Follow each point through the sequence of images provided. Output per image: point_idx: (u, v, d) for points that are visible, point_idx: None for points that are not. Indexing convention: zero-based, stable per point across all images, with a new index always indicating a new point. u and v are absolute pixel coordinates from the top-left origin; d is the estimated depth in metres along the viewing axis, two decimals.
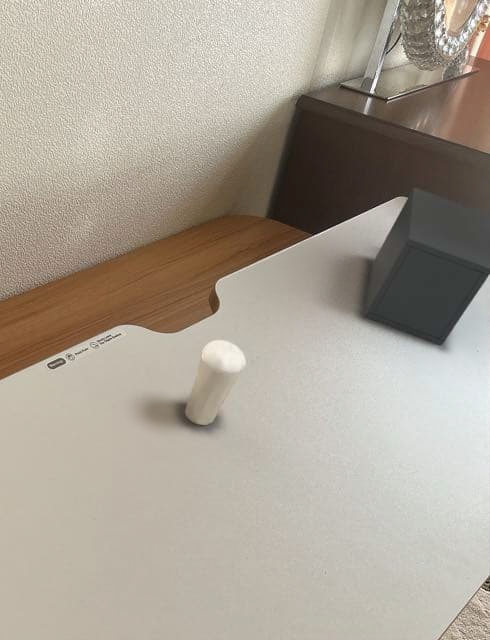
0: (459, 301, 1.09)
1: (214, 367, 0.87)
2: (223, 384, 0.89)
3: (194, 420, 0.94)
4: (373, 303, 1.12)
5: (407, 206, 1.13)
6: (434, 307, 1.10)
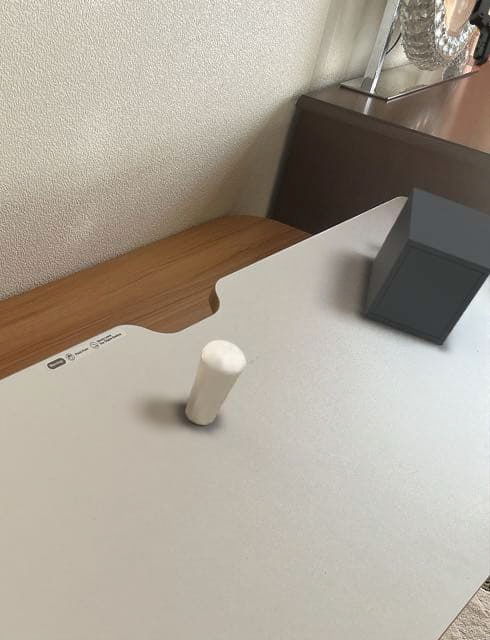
0: (459, 301, 1.09)
1: (214, 367, 0.87)
2: (223, 384, 0.89)
3: (194, 420, 0.94)
4: (373, 303, 1.12)
5: (407, 206, 1.13)
6: (434, 307, 1.10)
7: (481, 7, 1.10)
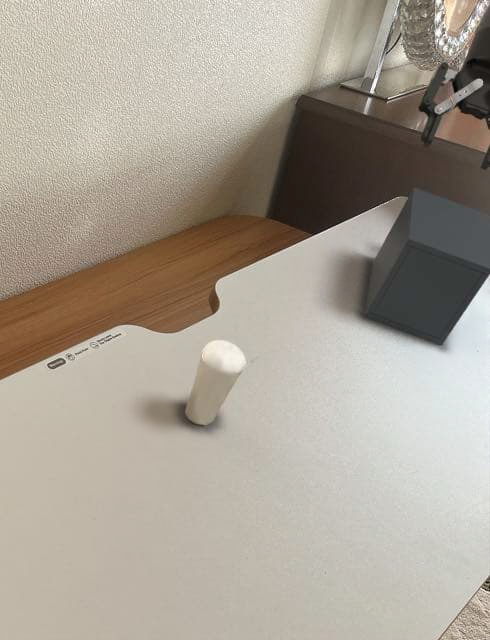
0: (459, 301, 1.09)
1: (214, 367, 0.87)
2: (223, 384, 0.89)
3: (194, 420, 0.94)
4: (373, 303, 1.12)
5: (407, 206, 1.13)
6: (434, 307, 1.10)
7: (426, 95, 1.20)
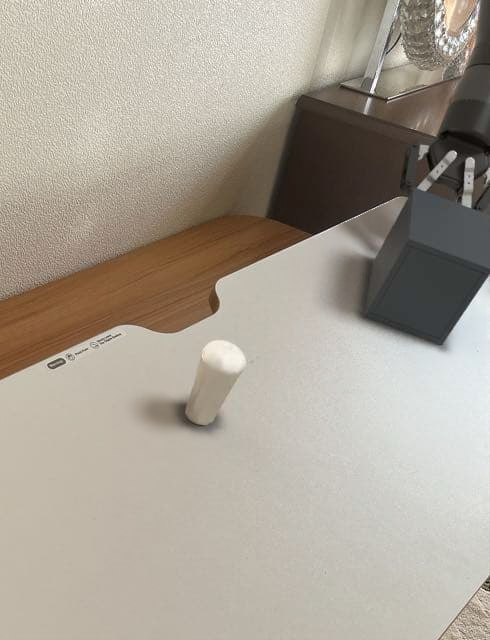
0: (459, 301, 1.09)
1: (214, 367, 0.87)
2: (223, 384, 0.89)
3: (194, 420, 0.94)
4: (373, 303, 1.12)
5: (407, 206, 1.13)
6: (434, 307, 1.10)
7: (406, 177, 1.19)
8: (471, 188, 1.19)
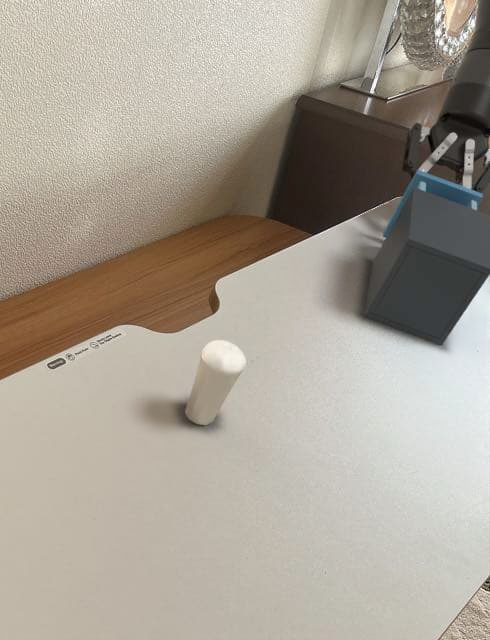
0: (459, 301, 1.09)
1: (214, 367, 0.87)
2: (223, 384, 0.89)
3: (194, 420, 0.94)
4: (373, 303, 1.12)
5: (407, 206, 1.13)
6: (434, 307, 1.10)
7: (408, 158, 1.23)
8: (471, 169, 1.22)
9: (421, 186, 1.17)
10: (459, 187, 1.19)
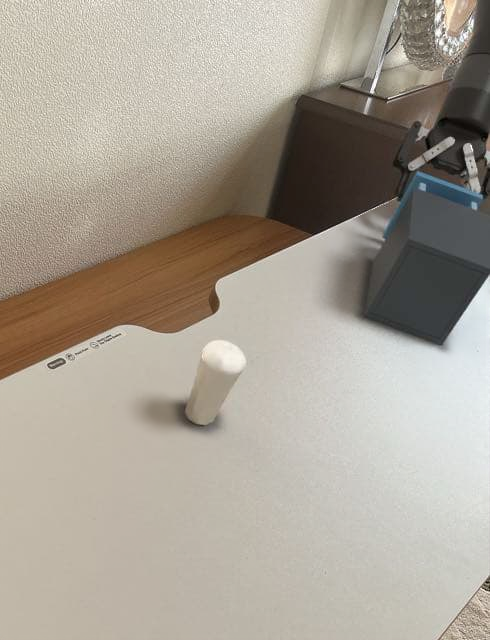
0: (459, 301, 1.09)
1: (214, 367, 0.87)
2: (223, 384, 0.89)
3: (194, 420, 0.94)
4: (373, 303, 1.12)
5: (407, 206, 1.13)
6: (434, 307, 1.10)
7: (400, 152, 1.24)
8: (475, 171, 1.23)
9: (421, 187, 1.17)
10: (459, 189, 1.18)
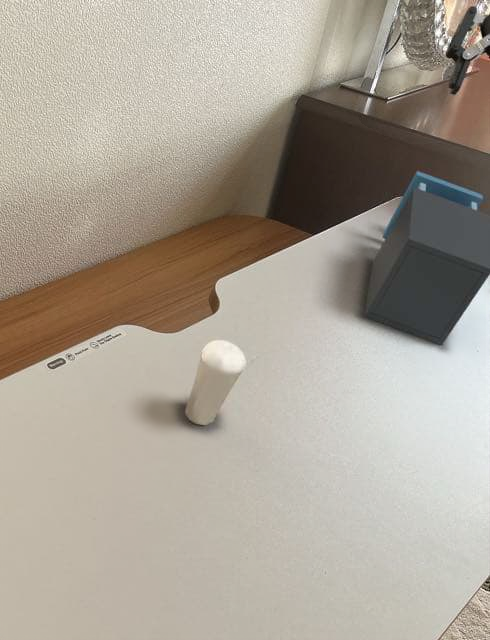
0: (459, 301, 1.09)
1: (214, 367, 0.87)
2: (223, 384, 0.89)
3: (194, 420, 0.94)
4: (373, 303, 1.12)
5: (407, 206, 1.13)
6: (434, 307, 1.10)
7: (454, 40, 1.17)
8: None
9: (421, 187, 1.17)
10: (459, 189, 1.18)
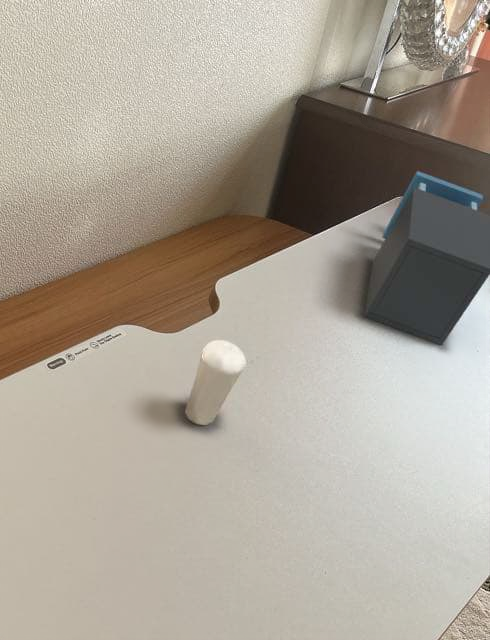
0: (459, 301, 1.09)
1: (214, 367, 0.87)
2: (223, 384, 0.89)
3: (194, 420, 0.94)
4: (373, 303, 1.12)
5: (407, 206, 1.13)
6: (434, 307, 1.10)
7: None
8: None
9: (421, 187, 1.17)
10: (459, 189, 1.18)
